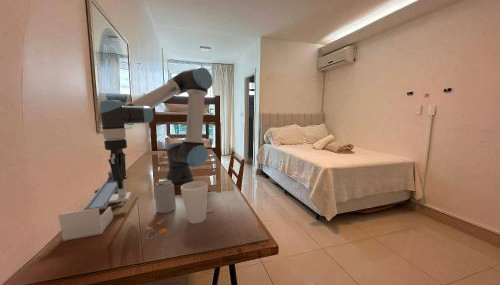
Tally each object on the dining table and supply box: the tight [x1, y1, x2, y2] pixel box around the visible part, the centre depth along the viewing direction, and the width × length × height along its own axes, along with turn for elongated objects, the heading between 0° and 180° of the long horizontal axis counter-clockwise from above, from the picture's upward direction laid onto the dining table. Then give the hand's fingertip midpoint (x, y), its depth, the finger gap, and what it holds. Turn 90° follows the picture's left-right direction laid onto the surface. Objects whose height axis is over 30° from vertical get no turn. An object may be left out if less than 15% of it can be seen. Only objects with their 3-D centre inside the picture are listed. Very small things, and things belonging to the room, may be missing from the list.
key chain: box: [145, 217, 168, 240], centre depth 71 cm, size 13×7×1 cm, turn 22°
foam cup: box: [180, 180, 209, 224], centre depth 75 cm, size 10×9×13 cm
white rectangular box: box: [58, 207, 114, 242], centre depth 72 cm, size 12×11×9 cm
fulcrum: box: [94, 187, 127, 211], centre depth 92 cm, size 8×11×8 cm
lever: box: [86, 169, 132, 210], centre depth 92 cm, size 28×13×4 cm, turn 17°
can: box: [153, 179, 177, 215], centre depth 84 cm, size 8×8×12 cm
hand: (122, 195), depth 86 cm, fingers closed
